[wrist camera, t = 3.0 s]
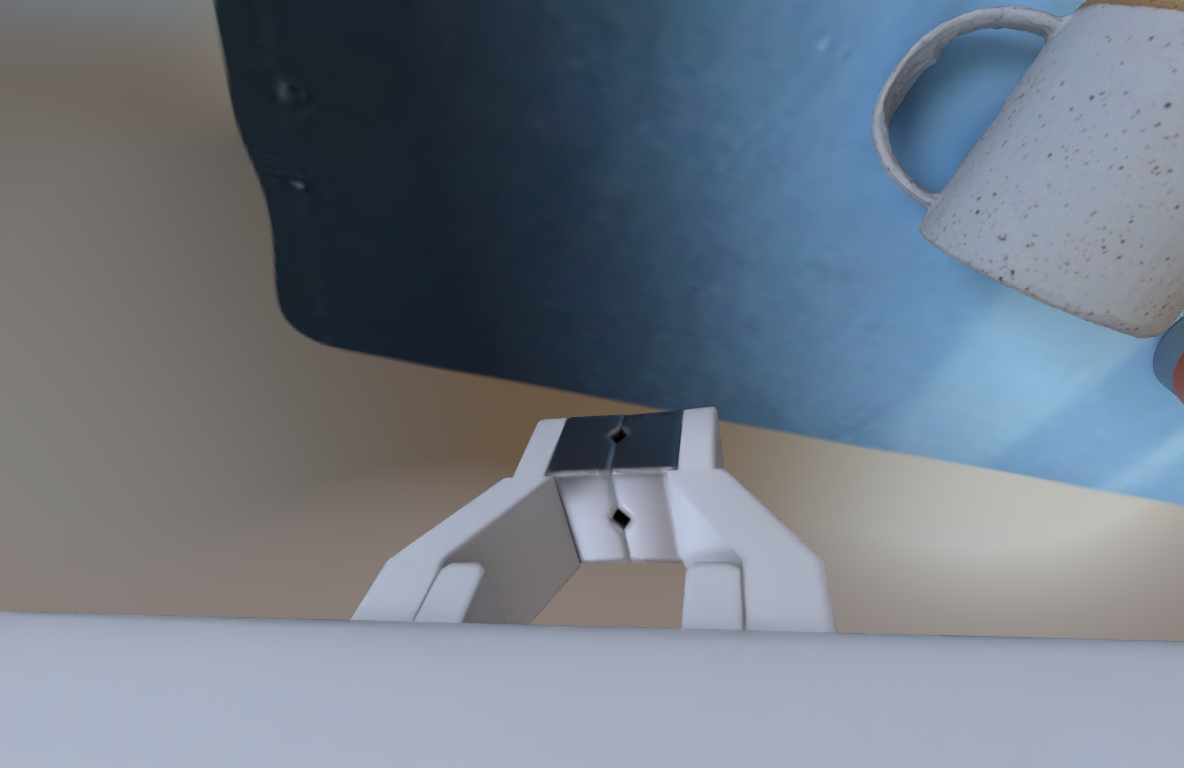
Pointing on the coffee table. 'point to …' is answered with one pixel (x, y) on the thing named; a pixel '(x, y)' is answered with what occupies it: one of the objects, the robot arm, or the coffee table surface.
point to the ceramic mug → (1069, 163)
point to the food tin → (1171, 360)
